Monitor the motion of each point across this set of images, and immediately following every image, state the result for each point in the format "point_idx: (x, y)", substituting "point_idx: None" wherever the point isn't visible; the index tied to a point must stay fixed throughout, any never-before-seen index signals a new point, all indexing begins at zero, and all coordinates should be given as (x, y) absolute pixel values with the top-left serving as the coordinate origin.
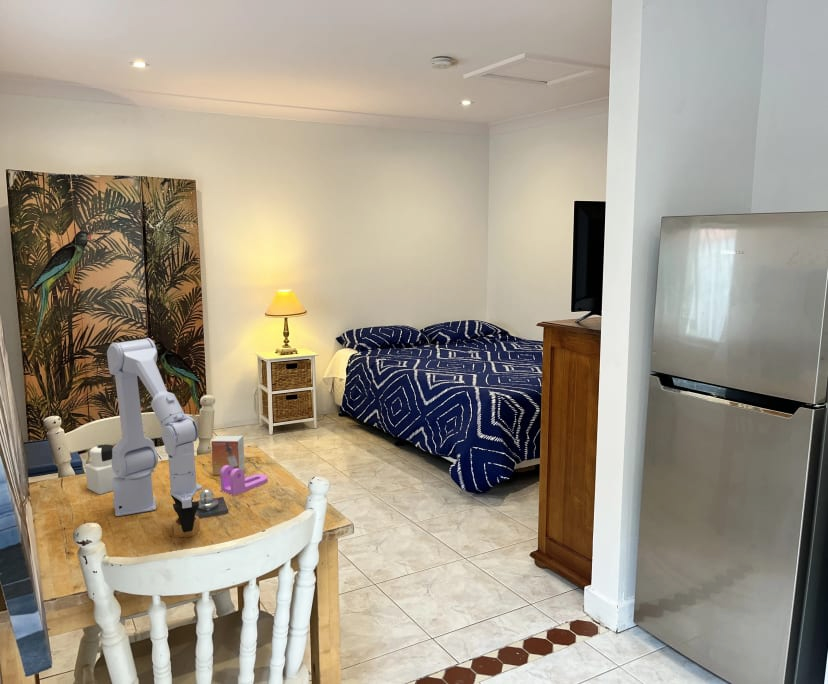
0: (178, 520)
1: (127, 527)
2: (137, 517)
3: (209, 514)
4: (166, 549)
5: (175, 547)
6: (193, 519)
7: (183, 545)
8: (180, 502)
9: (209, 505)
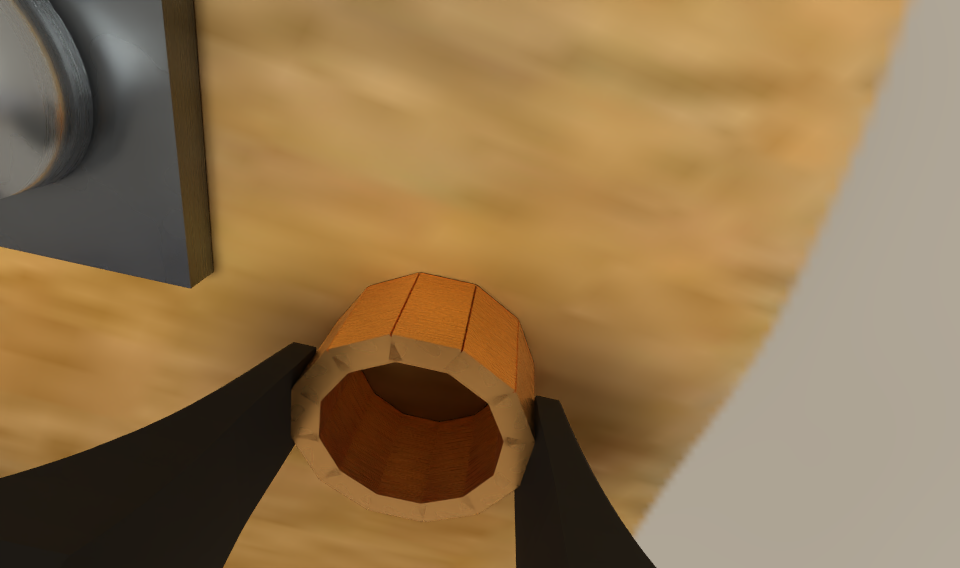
0: (345, 454)
1: None
2: None
3: (183, 109)
4: None
5: (629, 482)
6: (602, 492)
7: (639, 443)
8: (200, 564)
9: (39, 85)
